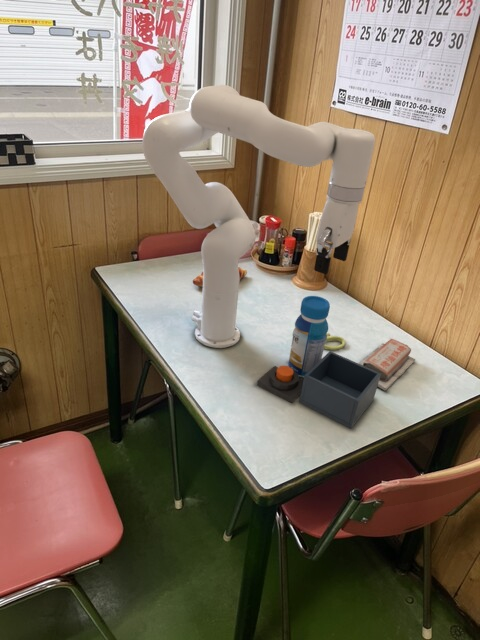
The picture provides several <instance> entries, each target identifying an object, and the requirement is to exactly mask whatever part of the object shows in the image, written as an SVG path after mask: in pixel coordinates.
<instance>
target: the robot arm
mask: <svg viewBox="0 0 480 640" xmlns="http://www.w3.org/2000/svg"><path fill="white" fill-rule="evenodd" d="M216 134H222V135H224V136H225V135H226V136H228V137H230V138H234V139H237V140H239V141H240V140H241V141H243V142H245V143H249V144H251V145H252V146H253V147H254V148H256V149H258V150H259V151H261V152H262V153H264V154H266V155H268V156H270V157H272V158H275V159H277V160H280V161H283V162H286V163H289V164H292V165H296V166H299V167H304V168H312V167H316V166H318V165H320V164H321V163H323V162H325V161H329V160H332V165H331V170H330V174H329V181H328V185H327V191H326V201H325V203H324V207H323V210H322V212H321V217H320V220H319V225H318V229H317V232H316V233H317V234H316V239H315V240H316V248H315V249H316V252H315V255H316V257H315V263H314V269H313V270H314V271H315V272H318V273H320V274H323V275H328V273H329V272H330V271H329V270H330V267H331V266H330V265H331V260H332V258H333V259H336V260H339V261H341V262H346V261H347V258H348V253H349V249H350V244H351V241H352V239H351V238H352V237H353V234H354V231H355V227H356V222H357V217H358V211H359V204H361V203H363V197H364V194H365V189H366V185H367V180H368V175H369V171H370V167H371V163H372V158H373V154H374V149H375V146H376V136H375V135H374V133H373V132H371V131H368V130H364V129H359V128H346V127H343V126H340V125H337V124H334V123H332V122H328V121H318V122H315V123H312V124H310V125H308V126H306V125H302V124H300V123H296V122H293V121H289V120H286V119H283V118H281V117H278V116H277V115H274V114H273V113H272V112H271V111H270V110H269V108H268V106H267V104H266V103H264V102H263V101H260V100H256V99H254V98H251V97H247V96H243V95H241V94H240V93H239V92H238V90H236V89H235V88H234V87H232V86H230V85H227V84H218V85H209V86H204V87H201V88H198V90H196V91H195V92H194V94H193V95H192V96H191V98H190V101H189V106H188V108H186V109H185V110H181V111H175V112H170V113H165V114H161V115H159V116H157V117H155V118H154V119H151V120H150V122H149V123H148V124H147V125H146V126H145V129H144V131H143V135H142V140H141V141H142V142H141V145H142V152H143V153H142V154H143V155H144V159H145V161H146V164H147V165H148V166H149V168H150V169H151V171H152V172H153V174H154V175H155V177H156V178H157V179H158V180H159V181H160V183H161V184H162V186H163V187H164V188H165V190H166V192H167V193H168V195H169V196H170V199H172V201H173V203H174V204H175V206H176V207H177V209H178V210H179V212H180V213H181V215H182V217H183V218H184V219H185V221H186V223H188V225H189V226H191V227H192V228H194V229H198V230H202V229H203V230H204V229H205V228H208V227H209V226H212V225H214V226H215V227H216V228H214V229H213V230H211V231H210V232H209V233H208V234H207V235H206V236H205V237H204V239H203V241H202V243H201V247H200V252H201V253H200V255H201V261H202V272H203V287H202V293H201V295H202V297H201V298H202V299H201V311H200V310H197V309H196V310H194V311H193V315H192V316H191V321H192V322H195V323H197V326H196V327H195V330H194V336H195V338H196V340H197V341H198V343H200V344H201V345H204V346H206V347H210V348H214V349H215V348H216V349H223V348H229V347H232V346H234V345H236V344H237V343H239V341H240V338H241V331H240V329H239V328H238V327H237V325H236V324H237V313H238V303H239V292H240V280H241V279H240V276H239V270H238V267H239V261H240V259H241V258H242V257H243V256H244V255H245V254H246V253H248V252H249V251H250V250H251V249H252V248H253V246H254V245H255V244H256V238H257V236H256V234H257V233H256V230H255V228H254V226H253V223H252V222H251V219H250V218H249V216H248V215H247V213H246V212H245V210H244V209H243V207H242V206H241V204H240V202H239V201H238V199H237V198H236V196H235V194H234V193H233V191H232V190H231V189H230V188H228V187H227V186H226V185H225V184H223V183H221V182H217V181H211V182H207V183H205V182H203V180H202V179H201V177H200V176H199V174H198V173H197V171H196V169H195V168H194V166H192V164H190V162H188V160H186V159H185V158H184V157H183V156H182V155H181V154H180V152H181V151H185V150H188V149H190V148H191V149H192V148H194V147H196V146H199V145H200V144H202V143H204V142H206V141H207V140H209V139H210V138H212V137H213V136H215V135H216ZM327 248H328V249H327ZM332 253H333V255H332ZM331 255H332V257H331Z"/></svg>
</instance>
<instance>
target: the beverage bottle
mask: <svg viewBox="0 0 480 640" xmlns="http://www.w3.org/2000/svg"><path fill="white" fill-rule="evenodd" d="M330 307H331V304H330V302H329V301H328V300H327V299H326V298H324V297H321V296H317V295H307V296H305V297H304V298H303V299H302V300H301V304H300V311H299V312H300V314H299V316H297V317H296V320H295V322H294V328H293V330H292V338H291V345H290V352H289V358H288V361H287V362H288V363H287V366H288V367H290V368H292V369H293V370H294V371H295V372H296V373H297V374H298V375H299V378H302V379H304V375H305V374H306V373H307V372H309V371H310V370H311V369H312V368H313V367H314V366H315V365H316V364H317V363H318V362H319V361H320V360H321V359H322V358H323V355H324V350H325V349H324V346H325V344H326V343H327V342H326V340H327V334H326V333H328V332H329V323H328V320H327V318H328V316H329V313H330Z"/></svg>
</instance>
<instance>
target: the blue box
mask: <svg viewBox="0 0 480 640" xmlns="http://www.w3.org/2000/svg"><path fill="white" fill-rule="evenodd" d="M380 376H381V373H378V372H376V371H374V370H372V369H370V368H367V367H365V366H363V365H360V364H359V362H356V361H353V360H351V359H349V358H347V357H344V356H343V355H340V354H338V353H335V352H333V351H332V350H329V351H328V352H327V353H326V354H325V355H324V356H322V359H321V360H320V361H319V362H318V363H317V364H316V365H315V366H314V367H313V368H312V369H311V370H310V371H309V372H307V373H306V374H305V375H304V378H303V380H304V381H303V386H302V391H301V394H300V395H299V403H301V404H302V405H304V406H306V407H308V408H310V409H312V410H314V411H316V412H318V413H319V414H322V415H324V416H326V417H328V418H329V419H332V420H334V421H335V422H337V423H340V424H342V425H344V426H345V427H347V428H349V429H352V428H353V427H354V426H355V424H356V423H357V421H359V419H360V418H361V417H362V415H363V414H364V412H366V410H367V409H368V407H369V406H370V405H371V403H372V402H373V401H374V399H375V395H376V392H377V389H378V383H379V379H380Z"/></svg>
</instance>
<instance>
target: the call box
mask: <svg viewBox="0 0 480 640" xmlns="http://www.w3.org/2000/svg"><path fill="white" fill-rule="evenodd" d="M278 367H279V366H276V365H274V366H272V368H271V369H269V370H268V371H267V372H266V373H264V375H262V376H261V377H260V378H259V379H257V381H256V385H257V386H258V387H260V388H262V389H264V390H266V391H268V392H269V393H272V394H274V395H276V396H277V397H279V398H281V399H283V400H285V401H288V402H289V403H291V404H293V402H295V401H296V400H297V399H298V397H300V396H301V391H302V386H303V381H304V378H302V377H299V375H298V374H297V373H296V372H295V371H294V370H293V378H292V380H291V381H288V382H284V381H280V380H278V379H277V378H276V372H277V368H278Z"/></svg>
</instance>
